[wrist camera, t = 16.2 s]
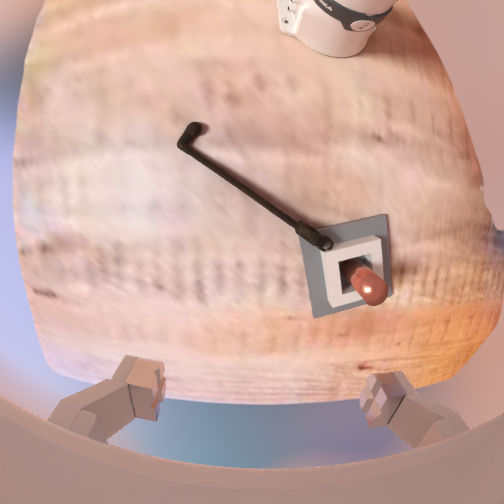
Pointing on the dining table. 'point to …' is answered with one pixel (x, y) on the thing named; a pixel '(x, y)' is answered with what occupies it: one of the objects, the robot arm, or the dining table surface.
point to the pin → (365, 281)
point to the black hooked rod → (300, 227)
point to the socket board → (329, 262)
